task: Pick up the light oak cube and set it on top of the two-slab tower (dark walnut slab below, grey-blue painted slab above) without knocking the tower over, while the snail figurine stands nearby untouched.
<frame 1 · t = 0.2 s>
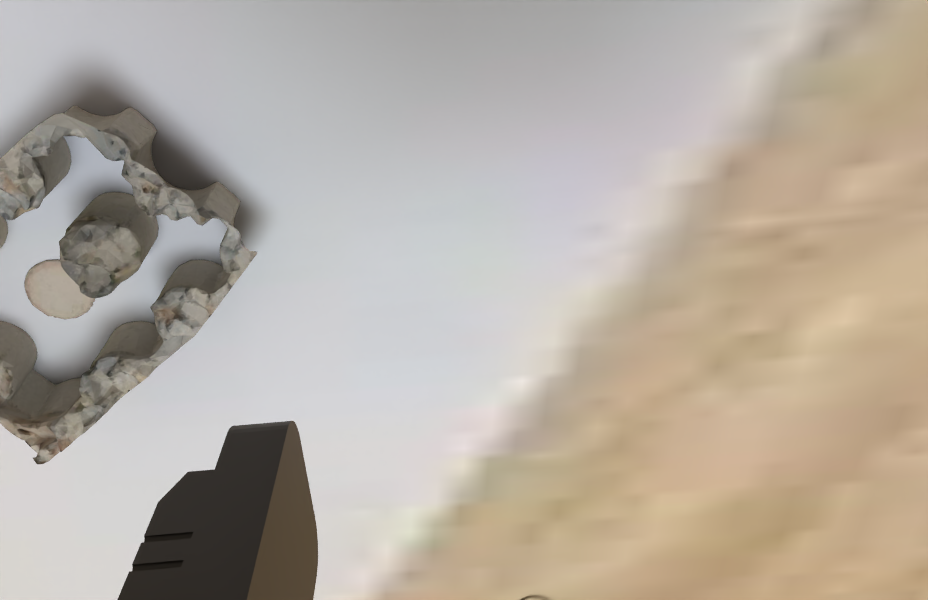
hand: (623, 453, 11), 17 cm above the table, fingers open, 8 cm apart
grey stone ruin model: (90, 248, 28), on the table
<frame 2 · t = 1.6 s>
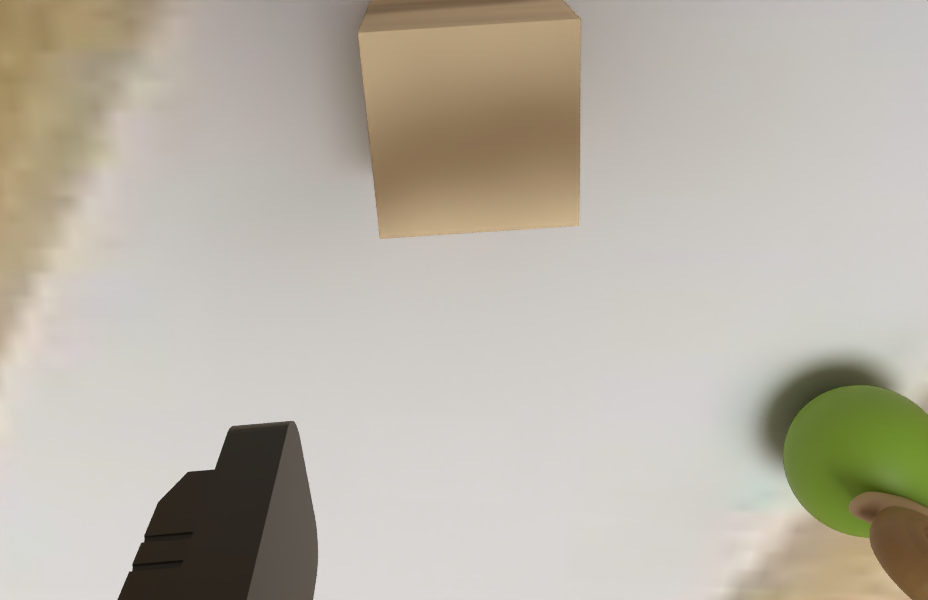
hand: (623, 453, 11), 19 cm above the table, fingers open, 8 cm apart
oak cube: (466, 85, 27), on the table
snail figurine: (840, 418, 34), on the table
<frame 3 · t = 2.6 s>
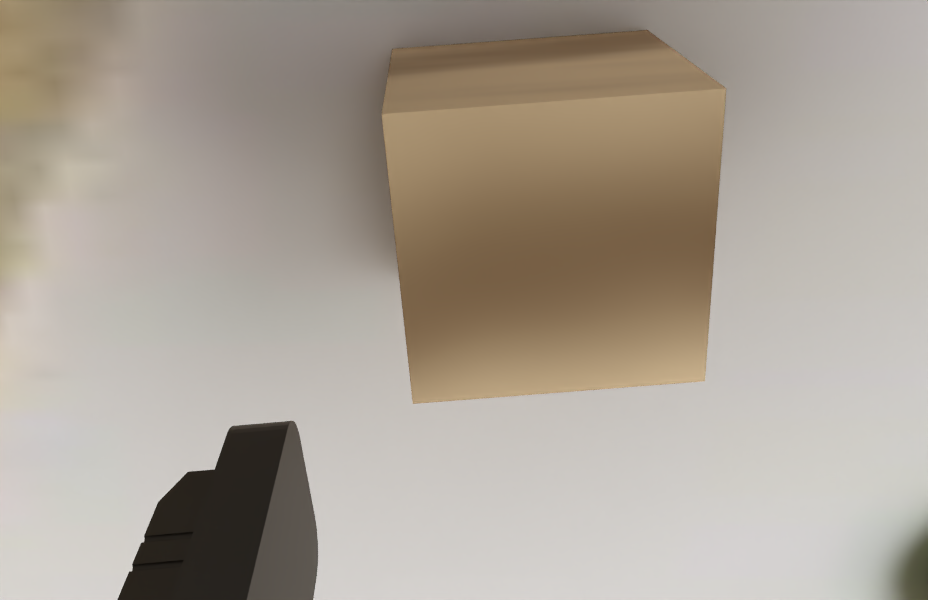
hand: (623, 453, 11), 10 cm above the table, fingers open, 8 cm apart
oak cube: (523, 161, 20), on the table
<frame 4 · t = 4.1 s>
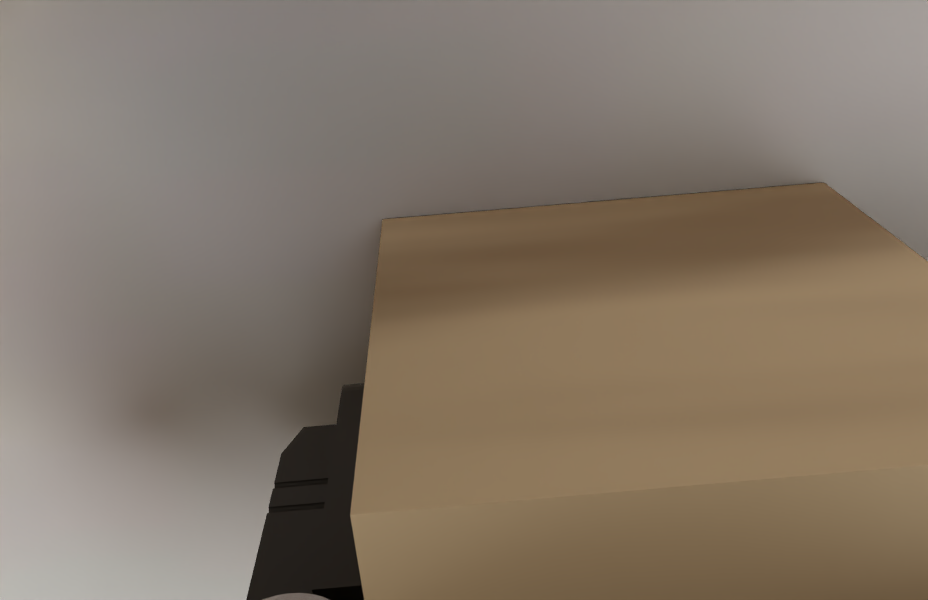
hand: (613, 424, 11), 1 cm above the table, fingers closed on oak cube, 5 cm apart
oak cube: (603, 389, 12), on the table, touching gripper
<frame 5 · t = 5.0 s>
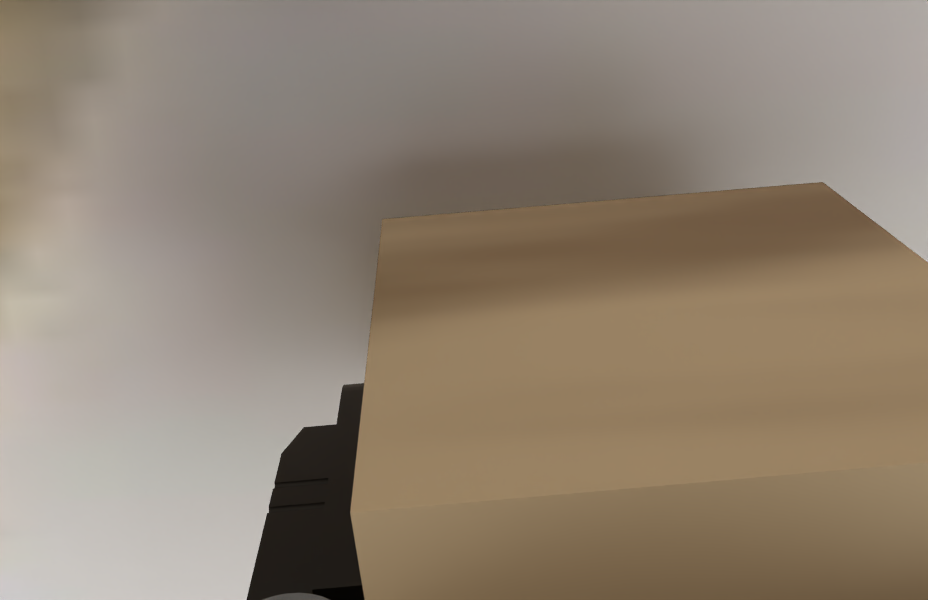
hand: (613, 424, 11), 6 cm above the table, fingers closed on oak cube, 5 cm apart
oak cube: (603, 388, 12), point 5 cm above the table, touching gripper
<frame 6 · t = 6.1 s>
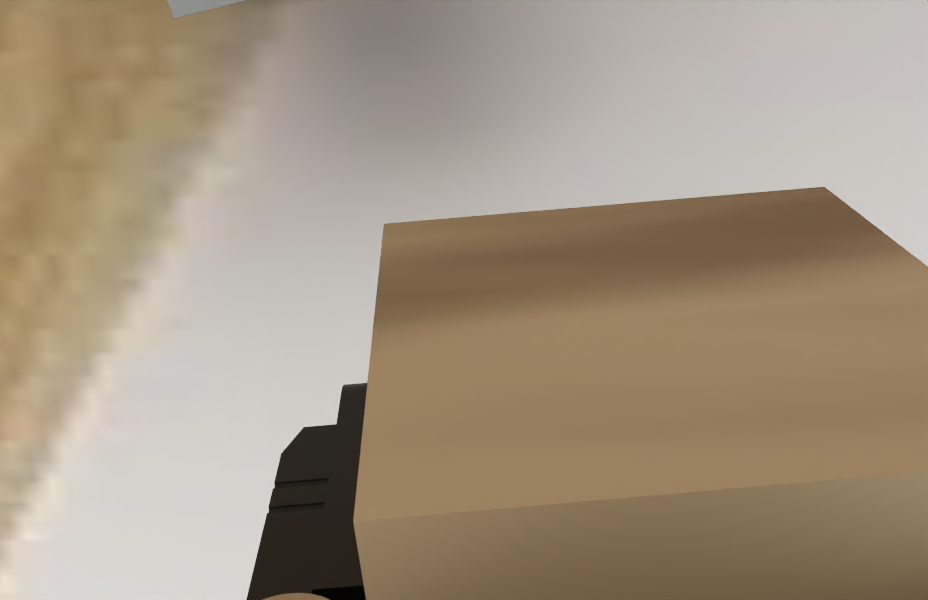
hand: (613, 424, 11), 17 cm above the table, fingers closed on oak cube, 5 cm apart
oak cube: (604, 392, 12), point 16 cm above the table, touching gripper
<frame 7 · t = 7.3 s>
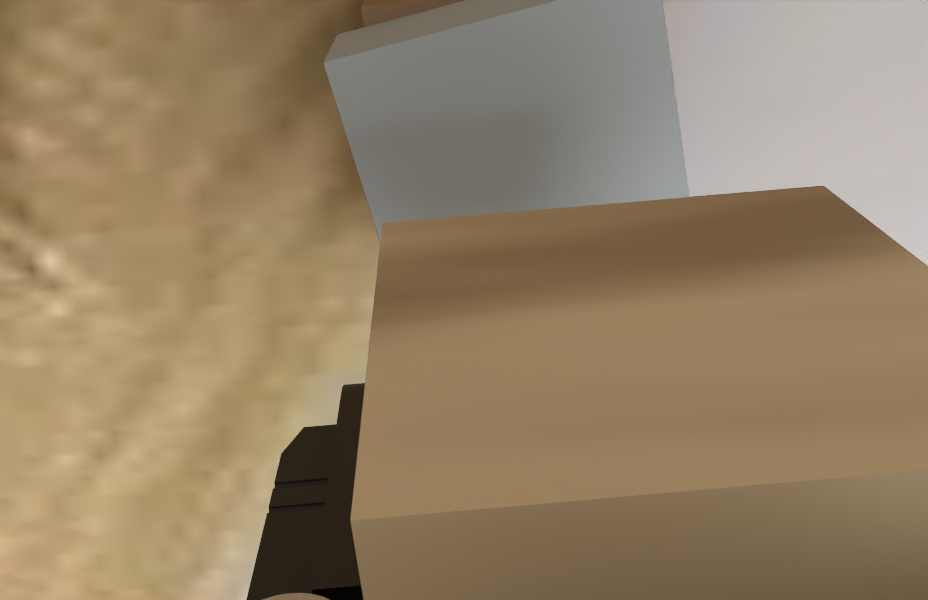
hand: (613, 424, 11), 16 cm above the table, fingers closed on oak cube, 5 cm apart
oak cube: (603, 391, 12), point 15 cm above the table, touching gripper
tower base: (504, 102, 25), on the table, touching tower top
tower top: (509, 135, 22), point 3 cm above the table, touching tower base
when the fingers open (9 cm above the table, at t = 9.2 s): oak cube drops 1 cm, resting on tower top.
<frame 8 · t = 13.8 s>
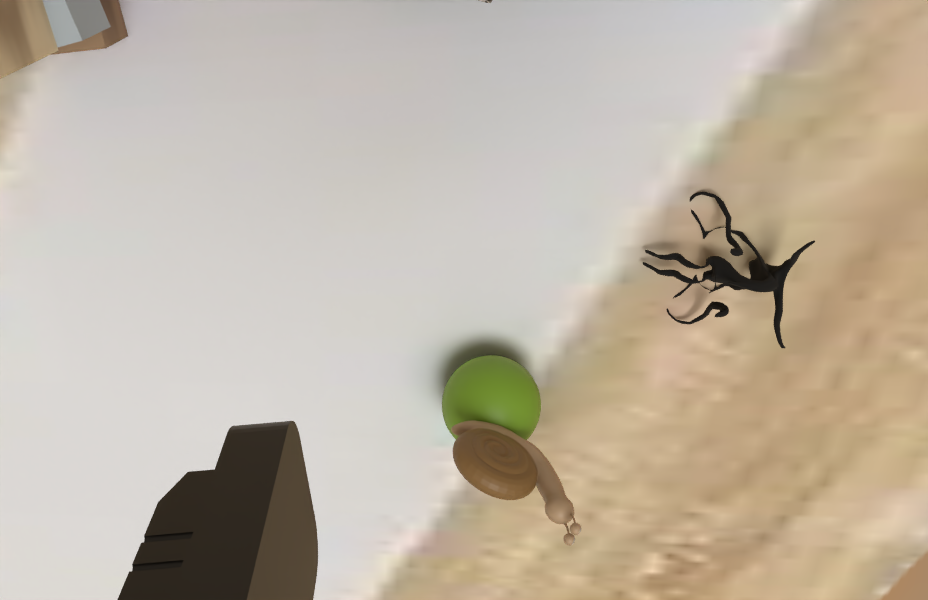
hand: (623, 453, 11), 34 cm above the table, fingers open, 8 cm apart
creature: (704, 255, 48), on the table
snail figurine: (495, 379, 50), on the table
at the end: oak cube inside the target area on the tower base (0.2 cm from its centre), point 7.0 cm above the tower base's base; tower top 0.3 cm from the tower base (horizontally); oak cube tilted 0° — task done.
